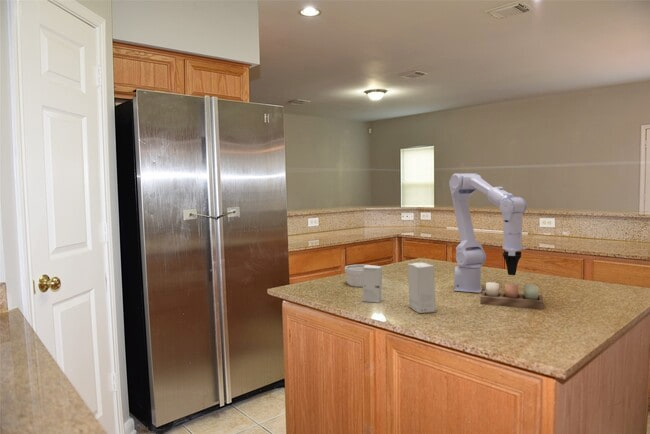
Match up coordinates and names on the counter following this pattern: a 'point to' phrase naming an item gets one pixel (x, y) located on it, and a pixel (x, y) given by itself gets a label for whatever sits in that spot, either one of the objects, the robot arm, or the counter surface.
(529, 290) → the sage button
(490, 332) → the counter surface
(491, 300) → the button panel
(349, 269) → the ramekin
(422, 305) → the skincare box
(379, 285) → the skincare box
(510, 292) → the terracotta button
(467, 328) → the counter surface
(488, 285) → the ivory button
